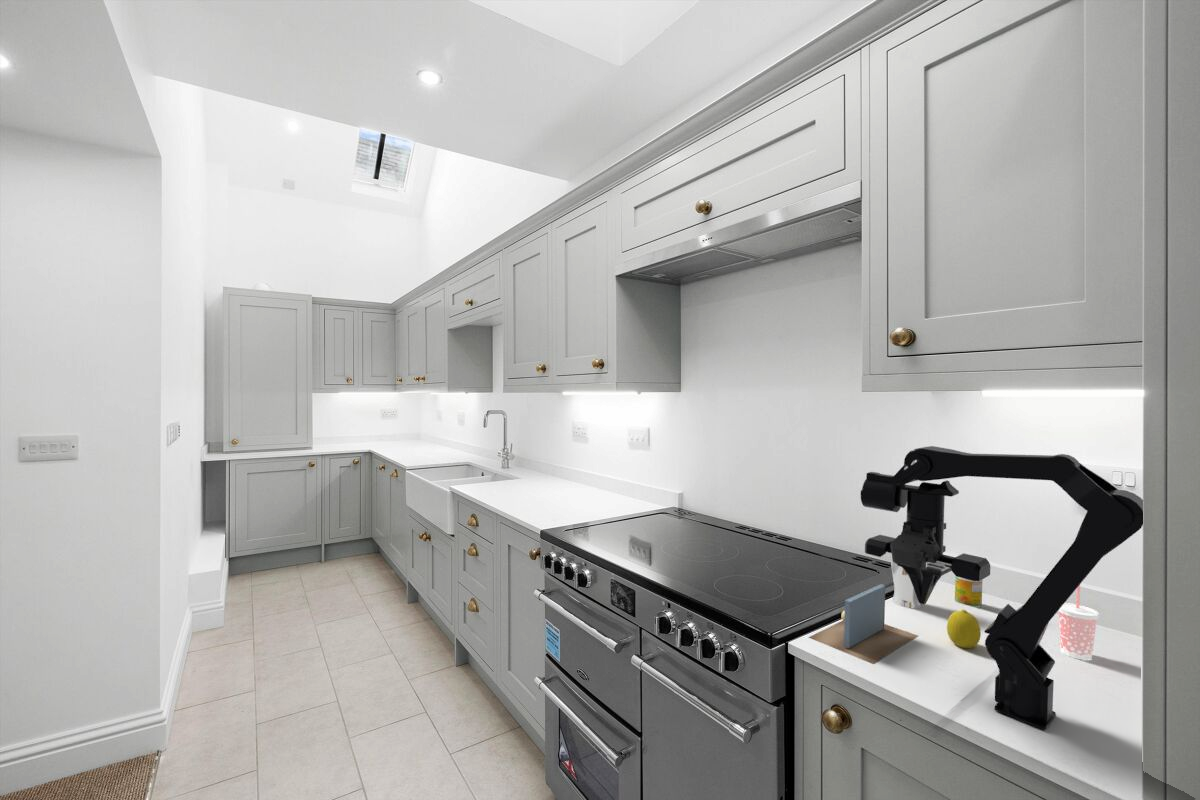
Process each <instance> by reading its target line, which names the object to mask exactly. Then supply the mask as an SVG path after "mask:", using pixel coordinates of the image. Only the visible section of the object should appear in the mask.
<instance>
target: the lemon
mask: <svg viewBox="0 0 1200 800" xmlns="http://www.w3.org/2000/svg"><path fill="white" fill-rule="evenodd" d="M979 623H980V622H979V621H978V619H977V618H976V617H975V616H974V615H973V614H972V613H970V612H968V611H967V610H966V609H961V610H956V611H954V612H952V613H951V614H950V615H949V617H948V620H947V625H946V631H947V635H948V637H949V639H950V641H951V642H952V643H953V644H954V645H955V646H958V647H959V648H963V649H972V648H973V649H974V647H976V646H977V645H978V644H979V642H980V641H981V634H982V633H981V631H982V630H981V626H980V624H979Z"/></svg>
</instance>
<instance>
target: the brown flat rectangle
mask: <svg viewBox="0 0 1200 800" xmlns="http://www.w3.org/2000/svg"><path fill="white" fill-rule="evenodd" d="M918 637H919V635H918V634H914V633H912V632H908V631H906V630H903V629H900V628H898V627H895V626H891V625H888V624H885V623H884V629H882V630H880V631H878V632H877V633H875V634H873V635H871V636H870V637H868V638H866V639H864V640H862V641H861V642H859V643H857V644H855V645H854V646H852V647H850V648H847V647H845V646H844V620H841V621H839V622H837V623H835V624H833V625H831V626H829V627H827V628H825V629H823V630H820V631H819V632H818V631H817V632H816V633H815V634H813V635H810V636H808V638H809V639H811V640H813V641H815V642H818V643H821V644H823V645H826V646H828V647H831V648H833V649H835V650H837V651H841V652H843V653H845V654H847V655H850V656H853V657H855V658H857V659H859V660H862V661H864V662H868V663H869V664H873V665H875V664H876V663H878V662H880V661H881V660H883V659H884V658H886V657H888V655H891V654H893V653H894V652H895V651H897V650H898V649H900V648H902V647H903V646H905V645H907V644H908V643H909V642H911V641H912V640H915V639H916V638H918Z"/></svg>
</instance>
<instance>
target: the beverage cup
mask: <svg viewBox="0 0 1200 800" xmlns="http://www.w3.org/2000/svg"><path fill="white" fill-rule="evenodd" d="M1080 597H1081V584H1080V585H1079V586H1078V587H1077V588H1076V598H1075V599H1076V602H1075V603H1072V602H1071V603H1070V602H1069V603H1067V602H1065V603H1064V604H1063V605H1062V607H1061V608H1060V609H1059V610H1058V611H1057V612H1058V620H1059V623H1058V625H1059V645H1060V652H1061V653H1062V652H1063V653H1064V654H1066V655H1068V656H1067V657H1069V656H1071V657H1074V658H1078V659H1077V660H1079V659H1083V660H1082V661H1086V660H1085V659H1087V661H1089V660H1088V659H1091V658H1092V659H1093V653H1094V652H1093V651H1094V646H1095V645H1094V644H1095V636H1096V628H1097V621H1098V619H1099V617H1100V613H1099V612H1098V611H1097V610H1096V609H1093V608H1091V607H1087V606H1084V605H1082V604H1081V605H1080V602H1081V601H1080V600H1081V599H1080ZM1063 653H1062V654H1063ZM1064 654H1063V655H1064ZM1066 655H1065V656H1066ZM1071 657H1070V658H1071ZM1074 658H1073V659H1074ZM1092 659H1091V660H1092Z"/></svg>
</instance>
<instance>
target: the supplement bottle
mask: <svg viewBox="0 0 1200 800" xmlns="http://www.w3.org/2000/svg"><path fill="white" fill-rule="evenodd" d="M954 576H955V575H954ZM954 578H955V579H954V580H955V581H954V583H955V584H954V602H955V603H957V604H962V605H965V606H969V607H973V608H974V609H975V608H976V609H980V608H982V603H983V582H984V581H983V580H984V579H982V580H981V581H972V580H968V579H964V578H960V577H956V576H955V577H954Z"/></svg>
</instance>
